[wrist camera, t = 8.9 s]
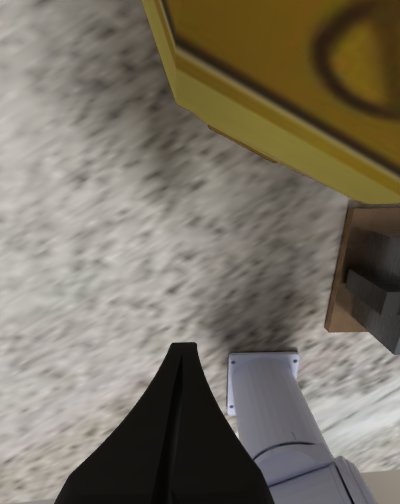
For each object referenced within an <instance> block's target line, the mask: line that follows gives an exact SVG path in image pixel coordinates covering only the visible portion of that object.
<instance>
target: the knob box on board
mask: <svg viewBox="0 0 400 504" xmlns="http://www.w3.org/2000/svg"><path fill="white" fill-rule="evenodd" d="M325 329H326V330H327V331H328V332H369V333H371V334H372V335H373V336H374V337H375V338H376V339H377V340H378V341H379V342H380V343H382V344H383V345H384V346H385V347H386V348H387V349H388V350H389V351H390V352H392V353H393V354H394V355H398V354H400V207H369V208H348V211H347V216H346V221H345V226H344V231H343V237H342V242H341V247H340V252H339V257H338V262H337V267H336V272H335V277H334V282H333V287H332V292H331V297H330V302H329V308H328V313H327V318H326V323H325Z"/></svg>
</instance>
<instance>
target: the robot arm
mask: <svg viewBox="0 0 400 504" xmlns="http://www.w3.org/2000/svg"><path fill="white" fill-rule="evenodd" d="M294 359H295V360H294ZM299 360H300V355H299V354H298V352H257V353H231V354H230V355H229V359H228V393H227V413H228V414H229V415H236V420H237V426H238V433H239V439H240V441H239V439H238V438H237V436H236V435H235V433H234V431H233V430H232V428H231V427H230V425H229V423H228V422H227V420H226V419H225V417H224V415H223V413H222V411H221V410H220V408H219V406H218V404H217V402H216V400H215V398H214V396H213V394H212V392H211V390H210V387H209V385H208V383H207V380H206V378H205V375H204V372H203V369H202V367H201V363H200V360H199V356H198V351H197V344H196V343H195V342H184V343H172V344H171V345H170V348H169V350H168V353H167V355H166V357H165V359H164V361H163V363H162V364H161V366H160V368H159V370H158V372H157V373H156V375H155V377H154V378H153V380H152V382H151V383H150V385H149V386H148V388H147V389H146V391H145V392H144V394H143V395H142V397H141V398H140V399H139V401H138V402H137V403H136V405H135V406H134V407H133V409H132V410H131V411H130V412H129V414H128V415H127V416H126V417H125V419H124V420H123V421H122V422H121V423H120V425H119V426H118V427H117V428H116V429H115V430H114V431H113V432H112V433H111V435H110V436H109V437H108V438H107V439H106V440H105V441H104V442H103V443H102V444H101V445H100V446H99V447H98V448H97V449H96V450H95V451H94V452H93V453H92V454H91V455H90V456H89V457H88V458H87V459H86V460H85V461H84V462H83V463H82V464H81V465H80V466H79V467H77V468H76V469H75V470H74V471H73V472H72V473H71V474H70V475H69V477H68V479H67V480H66V482H65V484H64V486H63V488H62V490H61V491H60V493H59V495H58V497H57V499H56V501H55V503H54V504H377V502H376V500H375V498H374V497H373V495H372V493H371V491H370V490H369V488H368V486H367V484H366V483H365V481H364V479H363V477H362V476H361V474H360V472H359V471H358V469H357V467H356V466H355V464H354V463H352V462H350V461H348V460H346V459H345V458H344V457H343V456H338V457H336V458H334V457H333V455H332V454H331V452H330V450H329V448H328V446H327V444H326V442H325V440H324V438H323V436H322V434H321V431H320V429H319V427H318V425H317V423H316V421H315V419H314V417H313V415H312V413H311V411H310V409H309V407H308V404H307V402H306V400H305V398H304V396H303V394H302V392H301V390H300V388H299V386H298V384H297V382H296V378H297V372H298V366H299Z"/></svg>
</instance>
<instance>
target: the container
mask: <svg viewBox="0 0 400 504" xmlns="http://www.w3.org/2000/svg"><path fill="white" fill-rule="evenodd" d="M141 1H142V4H143V6H144V9H145V12H146V15H147V18H148V21H149V24H150V27H151V30H152V33H153V36H154V39H155V42H156V45H157V48H158V51H159V54H160V57H161V60H162V63H163V66H164V69H165V72H166V75H167V78H168V80H169V83H170V86H171V89H172V92H173V95H174V98H175V101H176V104H178V105H179V106H181V107H183V108H185V109H187V110H189V111H190V112H192V113H194V114H195V115H196V116H197V117H198V118H199V119H200V120H201V121H203V122H205V123H207V124H208V127H209V128H210V129H212V130H214V131H215V132H217V133H219V134H221V135H223V136H225V137H227V138H228V139H230V140H232V141H234V142H236V143H238V144H240V145H241V146H243V147H245V148H247V149H249V150H251V151H253V152H254V153H256V154H258V155H260V156H262V157H264V158H266V159H267V160H269V161H271V162H273V163H278V162H279V163H281V164H282V165H284V166H286V167H288V168H290V169H292V170H294V171H295V172H297V173H300V174H302V175H304V176H307V177H309V178H311V179H314V180H316V181H319V182H321V183H323V184H325V185H327V186H329V187H330V188H332V189H334V190H336V191H338V192H340V193H342V194H343V195H345V196H347V197H349V198H351V199H353V200H354V201H356V202H358V203H360V204H400V0H141Z"/></svg>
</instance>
